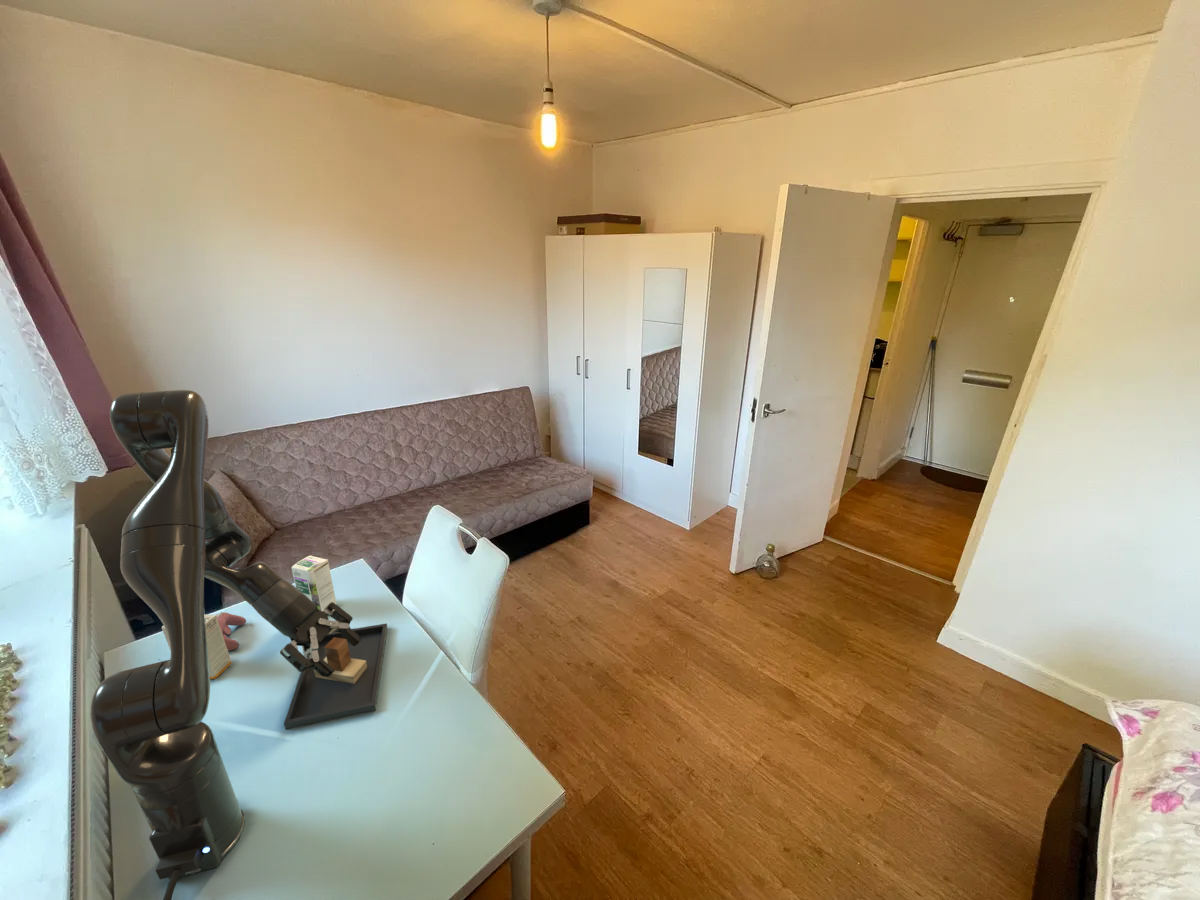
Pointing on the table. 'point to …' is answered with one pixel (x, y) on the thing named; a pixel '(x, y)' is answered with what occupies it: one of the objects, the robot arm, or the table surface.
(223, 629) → the video game controller
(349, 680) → the stacked wooden blocks
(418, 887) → the table surface
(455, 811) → the table surface
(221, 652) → the supplement box
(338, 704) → the tray
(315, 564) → the syrup box
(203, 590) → the robot arm
